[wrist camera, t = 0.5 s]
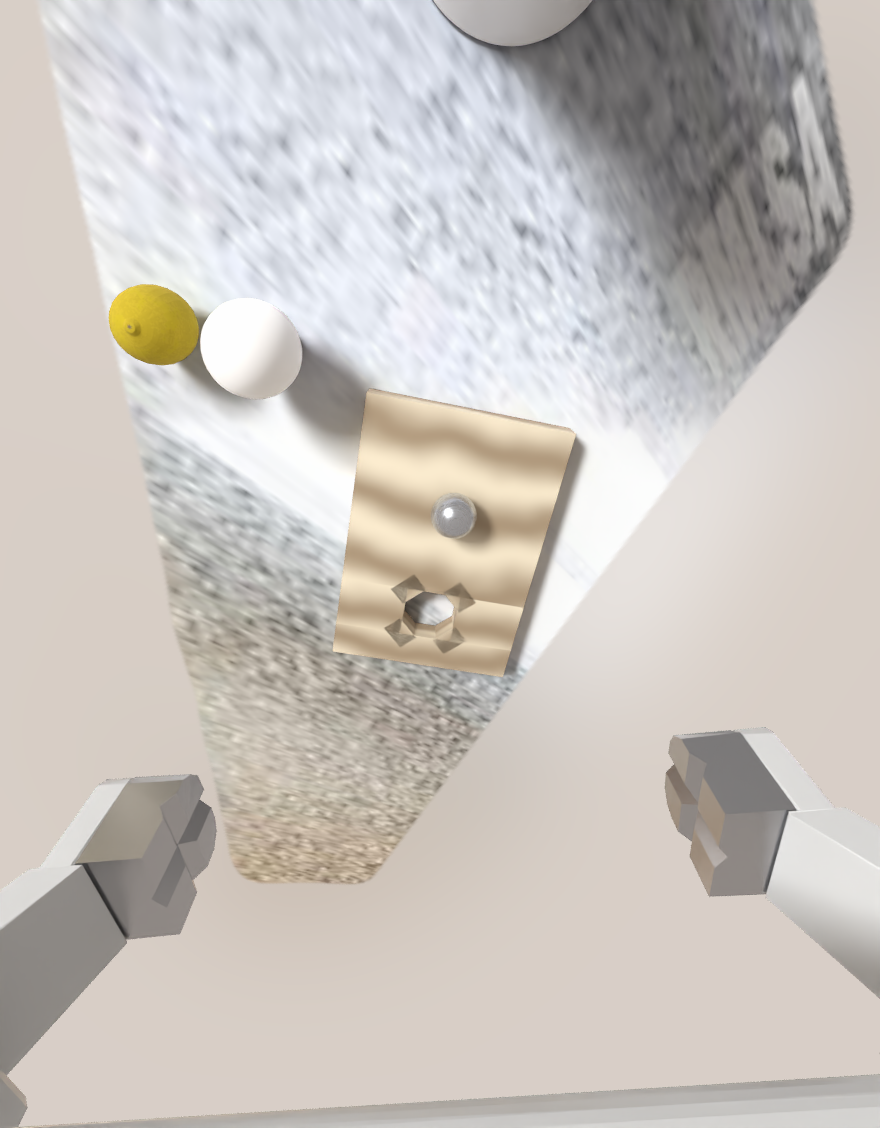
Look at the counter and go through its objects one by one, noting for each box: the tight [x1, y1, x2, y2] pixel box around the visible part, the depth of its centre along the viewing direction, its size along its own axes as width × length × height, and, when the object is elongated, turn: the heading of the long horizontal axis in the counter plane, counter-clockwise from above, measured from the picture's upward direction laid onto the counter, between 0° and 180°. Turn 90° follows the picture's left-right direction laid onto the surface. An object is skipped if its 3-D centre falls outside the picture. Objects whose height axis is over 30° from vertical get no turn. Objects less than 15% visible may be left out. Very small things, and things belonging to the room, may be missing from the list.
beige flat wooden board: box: [333, 388, 576, 677], centre depth 51 cm, size 26×18×2 cm
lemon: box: [109, 284, 199, 365], centre depth 40 cm, size 6×6×8 cm
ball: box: [431, 493, 477, 539], centre depth 46 cm, size 4×4×4 cm
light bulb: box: [200, 298, 302, 399], centre depth 40 cm, size 7×7×11 cm
